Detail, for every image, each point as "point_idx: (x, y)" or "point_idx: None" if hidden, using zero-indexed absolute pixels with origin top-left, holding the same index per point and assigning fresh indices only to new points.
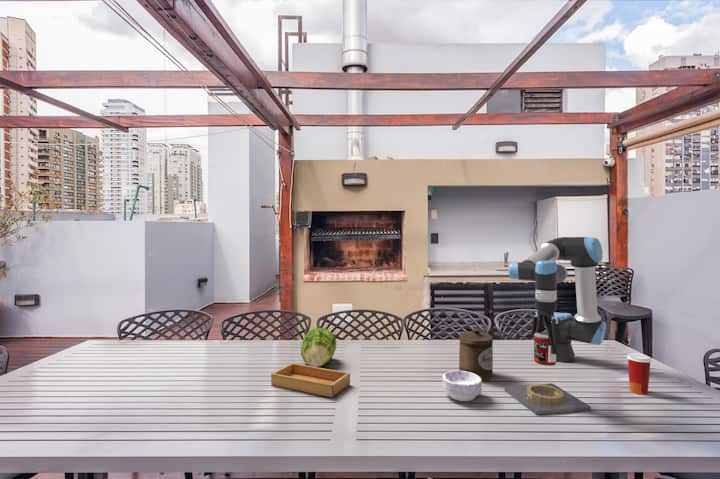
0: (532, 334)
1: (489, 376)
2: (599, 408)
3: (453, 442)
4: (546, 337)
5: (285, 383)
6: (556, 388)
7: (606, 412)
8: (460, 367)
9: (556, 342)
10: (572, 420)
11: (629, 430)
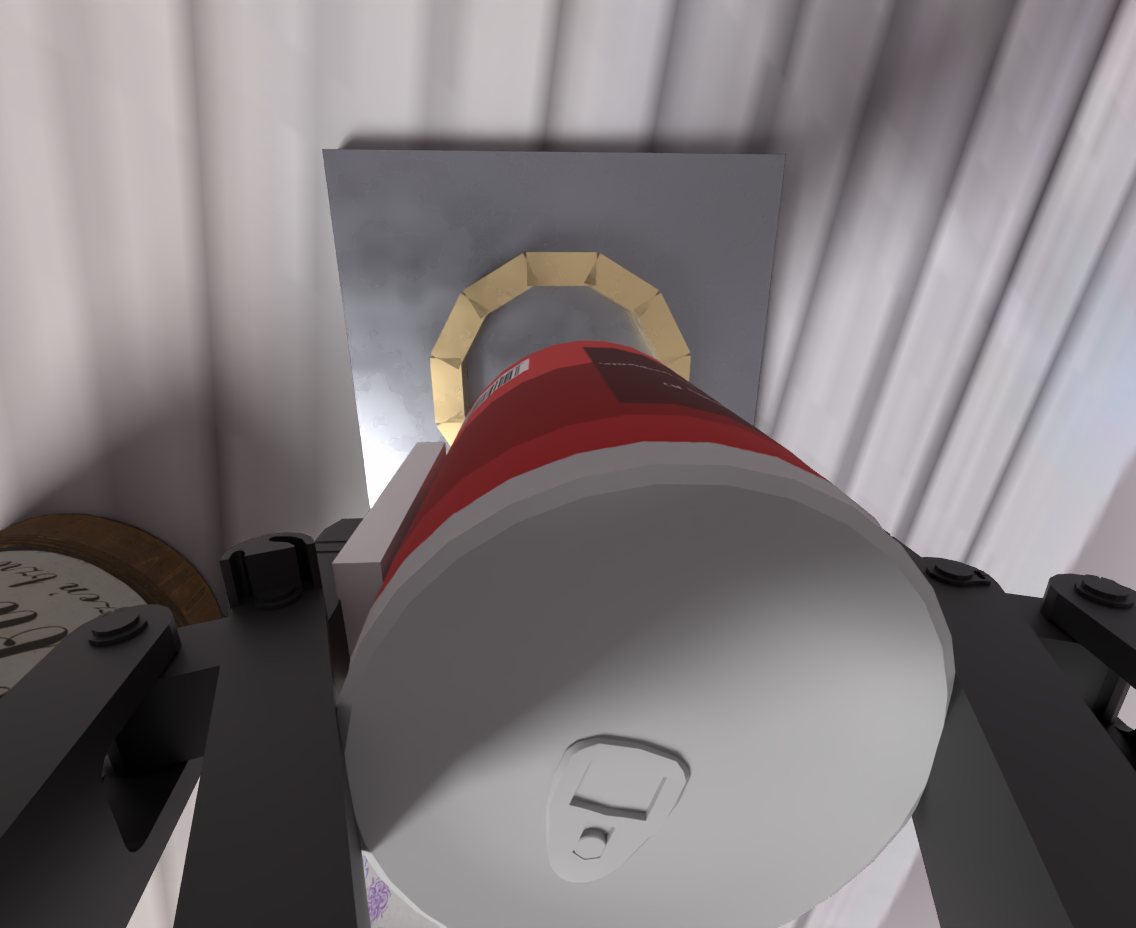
0: (192, 759)
1: (181, 579)
2: (761, 53)
3: (825, 908)
4: (875, 848)
5: None
6: (530, 262)
7: (826, 53)
8: None
9: (1117, 712)
10: (838, 387)
11: (1054, 116)
